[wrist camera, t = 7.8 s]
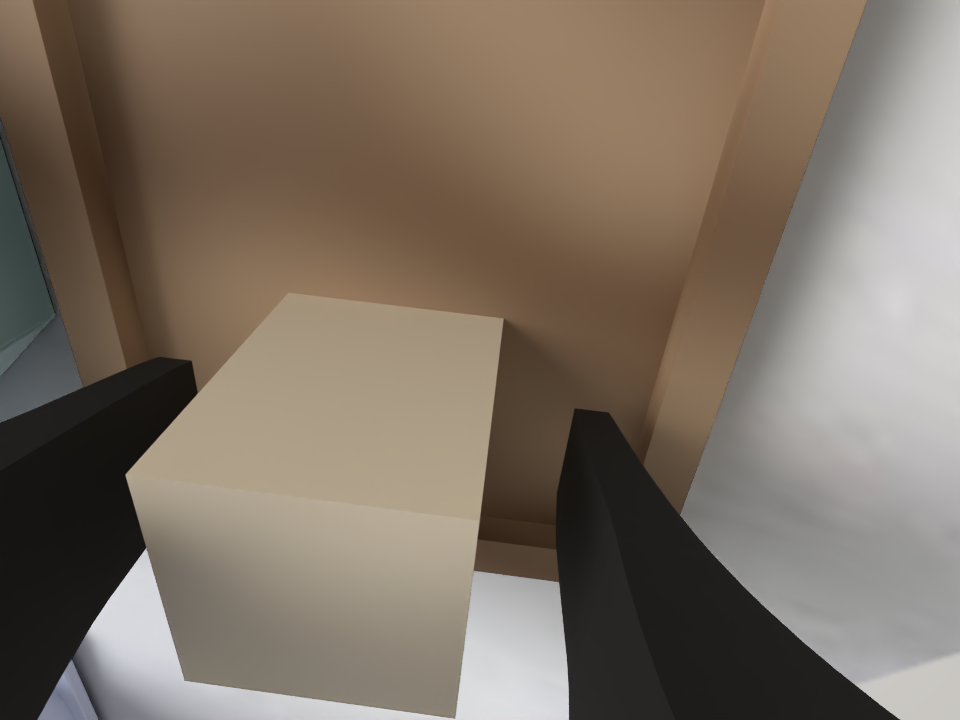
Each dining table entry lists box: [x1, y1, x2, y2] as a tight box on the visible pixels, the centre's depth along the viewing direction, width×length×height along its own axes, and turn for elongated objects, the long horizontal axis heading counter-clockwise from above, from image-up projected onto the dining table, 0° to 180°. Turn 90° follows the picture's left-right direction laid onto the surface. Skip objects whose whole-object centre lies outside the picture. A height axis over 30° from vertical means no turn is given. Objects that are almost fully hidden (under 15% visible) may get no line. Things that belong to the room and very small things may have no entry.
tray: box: [0, 0, 867, 582], centre depth 10 cm, size 15×12×1 cm
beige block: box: [126, 293, 504, 718], centre depth 10 cm, size 4×4×5 cm
